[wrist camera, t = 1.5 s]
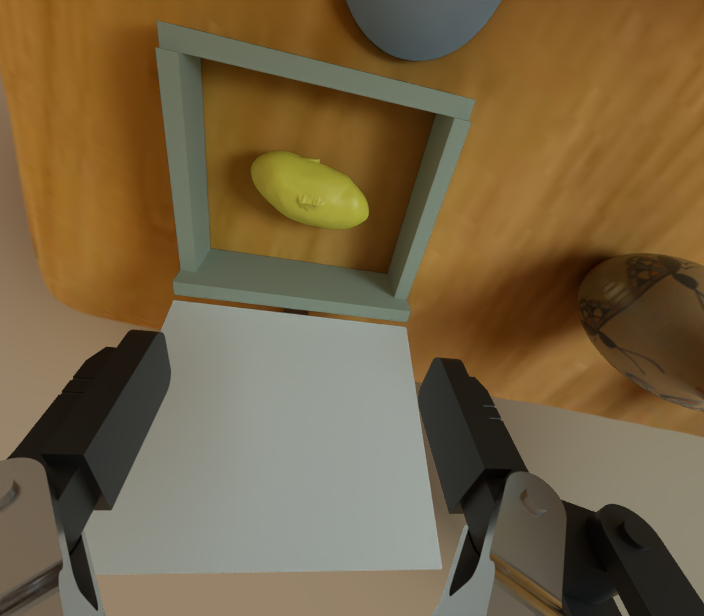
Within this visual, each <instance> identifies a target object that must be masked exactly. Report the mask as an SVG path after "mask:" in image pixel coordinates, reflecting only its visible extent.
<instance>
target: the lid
mask: <svg viewBox="0 0 704 616" xmlns="http://www.w3.org/2000/svg"><path fill="white" fill-rule="evenodd" d="M160 332H162V333H164V335H165V339H166V345H167V350H168V356H169V361H170V367H171V380H170V385H169V388H168V391H167V393H166V395H165V398H164V400H163V402H162V404H161V406H160V408H159V410H158V412H157V415H156V417H155V419H154V421H153V423H152V425H151V427H150V430H149V432H148V434H147V436H146V438H145V440H144V442H143V444H142V447H141V449H140V451H139V453H138V455H137V457H136V459H135V461H134V464H133V466H132V468H131V470H130V472H129V474H128V476H127V478H126V481H125V483H124V485H123V487H122V489H121V491H120V493H119V495H118V498H117V500H116V502H115V504H114V506H113V508H112V510H111V511H108V510H93V512H92V514H91V516H90V518H89V520H88V522H87V524H86V526H85V527H84V531H85V535H86V539H87V543H88V547H89V551H90V555H91V559H92V563H93V567H94V572H95V575H117V574H180V573H237V572H238V573H242V572H306V571H365V570H424V569H425V570H429V569H430V570H431V569H442V564H441V557H440V550H439V543H438V537H437V530H436V523H435V516H434V510H433V503H432V496H431V490H430V483H429V476H428V469H427V463H426V456H425V450H424V443H423V437H422V429H421V423H420V416H419V409H418V402H417V396H416V389H415V382H414V375H413V369H412V362H411V355H410V349H409V342H408V335H407V328H406V327H401V326H392V325H384V324H375V323H366V322H358V321H349V320H341V319H332V318H323V317H315V316H306V315H298V314H289V313H280V312H272V311H263V310H254V309H246V308H237V307H229V306H220V305H211V304H203V303H194V302H186V301H177V300H173V303H172V305H171V307H170V310H169V312H168V314H167V317H166V319H165V321H164V324H163V326H162V328H161V331H160Z"/></svg>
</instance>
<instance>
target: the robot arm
mask: <svg viewBox="0 0 704 616" xmlns="http://www.w3.org/2000/svg"><path fill="white" fill-rule="evenodd" d="M170 380H171V367H170V361H169V356H168V350H167V345H166V339H165V335H164V333H162V332H154V331H143V330H130V331H129V332H128V333H127V334H126V335H125V337H124V338H123V340H122V341H121V343H120V344H119V345H118V347H117V348H115V347H114V348H113V347H105V348H104V349H102V350H101V351H99V352H98V353H96V354H95V355H93V356H92V357H90V358H89V359H87V360H86V361H85V362H84V364H83V365H82V366H81V367H80V369H79V370H78V371H77V373H76V374H75V375H74V376H73V380H70V381H69V383H68V384H67V385H66V386H65V388H64V389H63V390H62V394H61V395H58V397H57V398H56V399H55V400H54V402H53V403H52V404H51V405H50V407H49V408H48V409H47V410H46V412H45V413H44V414H43V415H42V417H41V418H40V419H39V420H38V422H37V423H36V424H35V426H34V427H33V428H32V429H31V431H30V432H29V433H28V434H27V436H26V437H25V438H24V439H23V441H22V442H21V443H20V444H19V446H18V447H17V448H16V449H15V451H14V452H13V453H12V454H11V455H10V456H9V457H8V458H7V459H6V460H3V461H0V616H106V615H105V611H104V608H103V604H102V600H101V596H100V592H99V588H98V584H97V580H96V576H95V572H94V567H93V563H92V559H91V555H90V551H89V547H88V543H87V539H86V535H85V531H84V527H85V526H86V524H87V522H88V520H89V518H90V516H91V514H92V512H93V510H108V511H111V510H112V508H113V506H114V504H115V502H116V500H117V498H118V495H119V493H120V491H121V489H122V487H123V485H124V483H125V481H126V478H127V476H128V474H129V472H130V470H131V468H132V466H133V464H134V461H135V459H136V457H137V455H138V453H139V451H140V449H141V447H142V444H143V442H144V440H145V438H146V436H147V434H148V432H149V430H150V427H151V425H152V423H153V421H154V419H155V417H156V415H157V412H158V410H159V408H160V406H161V404H162V402H163V400H164V398H165V395H166V393H167V391H168V388H169V385H170ZM418 402H419V409H420V412H421V416H422V419H423V423H424V426H425V430H426V433H427V437H428V441H429V444H430V448H431V451H432V455H433V458H434V462H435V465H436V469H437V472H438V476H439V479H440V483H441V486H442V490H443V493H444V497H445V500H446V504H447V507H448V511H449V513H450V514H464V515H465V519H466V522H467V524H466V525H465V527H464V529H463V532H462V535H461V538H460V542H459V545H458V548H457V551H456V554H455V558H454V560H453V564H452V567H451V570H450V573H449V576H448V579H447V582H446V586H445V589H444V592H443V595H442V597H441V600H440V602H439V604H438V606H437V608H436V609H435V611H434V613H433V615H432V616H622V615H621V613H620V611H619V609H618V607H617V605H616V603H615V601H614V599H613V597H614V596H616V595H618V594H619V596H620V598H621V600H622V602H623V604H624V605H625V608H626V609H627V611H628V613H629V615H630V616H704V603H703V602H702V600H701V599H700V597H699V596H698V594H697V593H696V591H695V590H694V588H693V587H692V585H691V584H690V582H689V581H688V579H687V578H686V576H685V575H684V573H683V572H682V570H681V569H680V567H679V566H678V564H677V563H676V562H675V560H674V558H673V557H672V555H671V554H670V553H669V551H668V550H667V548H666V546H665V545H664V543H663V542H662V540H661V539H660V538H659V536H658V535H657V533H656V532H655V531H654V530H653V529H652V527H651V526H650V525H649V524H648V523H647V522H646V521H645V520H643V519H642V518H641V517H640V516H638V515H637V514H636V513H634V512H633V511H631V510H629V509H627V508H625V507H623V506H620V505H616V504H608V505H605V506H604V507H603V508H601V509H600V510H599V511H597V512H593V511H590V510H588V509H585V508H582V507H580V506H577V505H574V504H571V503H569V502H566V501H563V500H561V499H560V498H559V496H558V495H557V493H556V492H555V491H554V490H553V489H552V488H551V487H550V486H549V485H548V484H547V483H546V482H545V481H543V480H542V479H541V478H539V477H537V476H536V475H533V474H531V473H529V472H528V470H527V468H526V466H525V464H524V462H523V460H522V458H521V456H520V454H519V452H518V450H517V448H516V446H515V444H514V443H513V440H512V438H511V436H510V434H509V432H508V431H507V429H506V427H505V425H504V423H503V421H501V417H500V415H499V413H498V411H497V409H496V408H494V403H493V401H492V399H491V397H490V395H489V393H488V391H487V390H486V389H485V388H484V386H483V385H482V384H481V383H480V382H479V381H478V380H477V379H476V378H475V377H469V375H468V373H467V371H466V369H465V367H464V364H463V363H462V361H461V360H459V359H450V358H438V357H436V358H435V359H434V360H433V361H432V363H431V366H430V368H429V370H428V372H427V374H426V376H425V379H424V381H423V383H422V385H421V387H420V390H419V397H418Z"/></svg>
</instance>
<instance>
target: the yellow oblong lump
mask: <svg viewBox="0 0 704 616" xmlns="http://www.w3.org/2000/svg"><path fill="white" fill-rule="evenodd" d="M250 170H251V177H252V180H253V183H254V185H255V186H256V188H257V189H258V191H259V192H260V193H261V194H262V196H263V197H264V198H265V199H266V200H267V201H268V202H269V203H270V204H272V205H273V206H274V207H275V208H276V209H277V210H278V211H279V212H280V213H282V214H283V215H285V216H286V217H288V218H290V219H292V220H294V221H297V222H299V223H302V224H306V225H311V226H315V227H319V228H324V229H349V228H352V227H355V226H357V225H359V224H361V223H362V222H364V221H365V220H366V219H367V218H368V215H369V208H368V203H367V200H366V198H365V196H364V195H363V193H362V192H361V191H360V189H359V188H358V187H357V186H356V185H355V184H354V183H353V181H352V180H351V179H350V178H349V177H348V176H347V175H346V174H344V173H341V172H339V171H336V170H334V169H332V168H330V167H328V166H326V165H324V164H321V163H320V159H309V158H306V157H302V156H299V155H297V154H294V153H291V152H288V151H272V152H268V153H264V154H262V155H260V156H259V157H258V158H256V160H255V161H254V162H253V163H252V166H251V169H250Z"/></svg>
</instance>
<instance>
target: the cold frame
mask: <svg viewBox="0 0 704 616" xmlns="http://www.w3.org/2000/svg"><path fill="white" fill-rule="evenodd" d="M156 21H157V20H156ZM157 30H158V39H159V48H157V47H155V51H156V59H157V68H158V77H159V86H160V94H161V103H162V112H163V121H164V129H165V138H166V147H167V156H168V164H169V173H170V182H171V190H172V199H173V208H174V217H175V225H176V234H177V243H178V252H179V260H180V269H181V270H180V271H179V273H178V274H177V276H176V277H175V279H174V280H173V290H174V295H182V296H190V297H198V298H207V299H215V300H224V301H232V302H240V303H249V304H257V305H266V306H274V307H283V308H291V309H299V310H308V311H316V312H325V313H333V314H341V315H350V316H358V317H367V318H375V319H383V320H392V321H400V322H407V321H408V318H409V316H410V313H411V310H410V307H409V304H408V301H407V298H408V295H409V292H410V290H411V287H412V284H413V281H414V279H415V276H416V273H417V271H418V268H419V265H420V262H421V260H422V257H423V254H424V251H425V249H426V246H427V243H428V240H429V238H430V235H431V232H432V229H433V227H434V224H435V221H436V218H437V216H438V213H439V210H440V207H441V205H442V202H443V199H444V196H445V194H446V191H447V188H448V185H449V183H450V180H451V177H452V175H453V172H454V169H455V166H456V164H457V161H458V158H459V155H460V153H461V150H462V147H463V144H464V142H465V139H466V136H467V133H468V131H469V128H470V125H471V122H470V121H469V118H470V115H471V112H472V109H473V107H474V104H475V101H476V100H474V99H470V98H466V97H463V96H459V95H455V94H451V93H447V92H443V91H439V90H435V89H431V88H427V87H423V86H419V85H415V84H411V83H407V82H403V81H399V80H395V79H391V78H387V77H383V76H379V75H375V74H371V73H367V72H363V71H359V70H355V69H351V68H347V67H343V66H339V65H335V64H331V63H327V62H323V61H319V60H315V59H311V58H307V57H303V56H299V55H295V54H291V53H287V52H283V51H279V50H275V49H271V48H267V47H263V46H259V45H255V44H251V43H247V42H243V41H239V40H235V39H231V38H227V37H223V36H219V35H215V34H211V33H207V32H203V31H199V30H195V29H191V28H187V27H183V26H179V25H174V24H170V23H165V22H161V21H157ZM201 58H205V59H210V60H214V61H218V62H222V63H226V64H231V65H235V66H239V67H243V68H248V69H252V70H256V71H260V72H264V73H269V74H273V75H277V76H281V77H286V78H290V79H294V80H298V81H303V82H307V83H311V84H315V85H319V86H324V87H328V88H332V89H336V90H341V91H345V92H349V93H353V94H357V95H362V96H366V97H370V98H374V99H379V100H383V101H387V102H391V103H396V104H400V105H404V106H408V107H412V108H417V109H421V110H425V111H429V112H434V113H436V115H435V119H434V122H433V125H432V129H431V132H430V135H429V138H428V142H427V145H426V148H425V151H424V155H423V158H422V161H421V165H420V168H419V171H418V174H417V178H416V181H415V184H414V187H413V191H412V194H411V197H410V201H409V204H408V207H407V210H406V214H405V217H404V220H403V224H402V227H401V230H400V233H399V237H398V240H397V243H396V246H395V250H394V253H393V256H392V260H391V263H390V266H389V269H388V273H387V274H386V273H379V272H372V271H365V270H358V269H351V268H344V267H337V266H330V265H323V264H316V263H309V262H302V261H295V260H288V259H281V258H274V257H267V256H260V255H253V254H247V253H240V252H233V251H226V250H219V249H212V248H210V230H209V211H208V191H207V172H206V153H205V133H204V114H203V95H202V75H201Z"/></svg>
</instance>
